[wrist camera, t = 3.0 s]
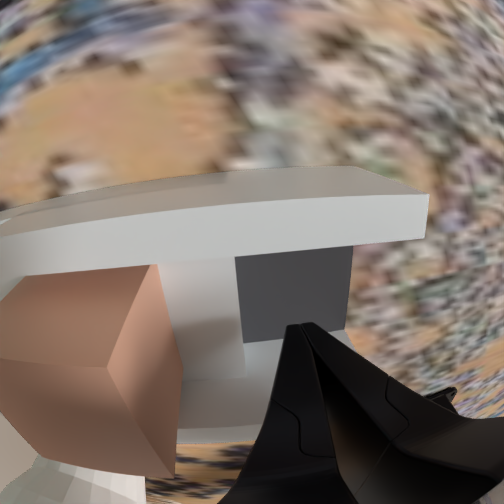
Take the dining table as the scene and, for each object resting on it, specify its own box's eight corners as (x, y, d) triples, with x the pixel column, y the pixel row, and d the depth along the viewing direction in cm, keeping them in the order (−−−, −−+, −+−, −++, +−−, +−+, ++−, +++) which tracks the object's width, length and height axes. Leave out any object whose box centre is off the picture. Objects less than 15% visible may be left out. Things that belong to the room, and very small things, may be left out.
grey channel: (339, 343, 15) (375, 416, 10) (14, 355, 13) (-18, 409, 9) (353, 165, 11) (429, 194, 6) (-40, 223, 10) (-98, 261, 5)
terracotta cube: (183, 368, 11) (174, 478, 7) (78, 367, 11) (42, 457, 6) (155, 254, 9) (106, 367, 5) (35, 267, 9) (-42, 350, 4)
